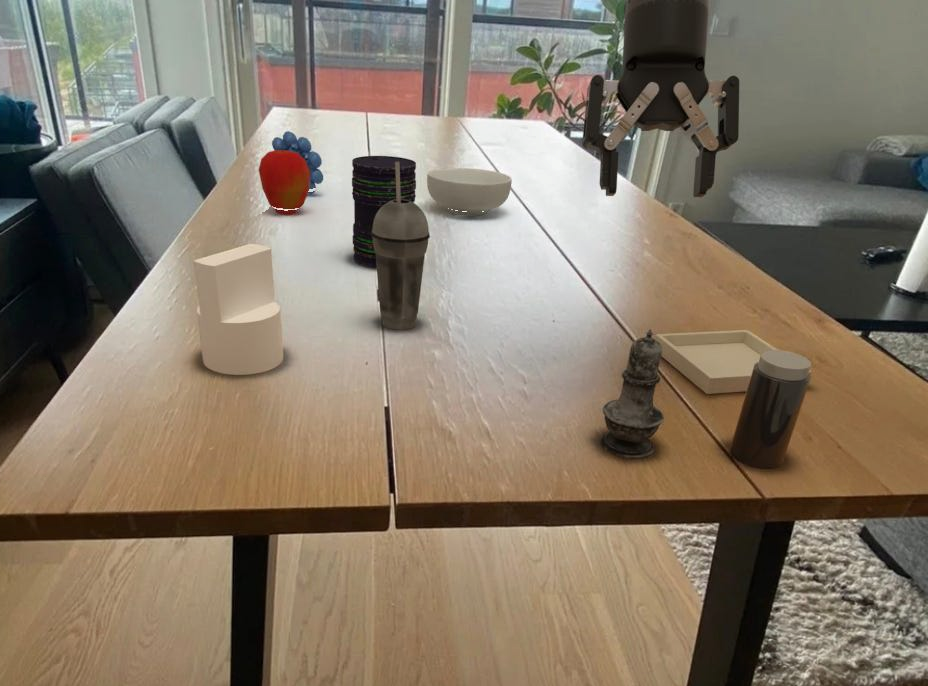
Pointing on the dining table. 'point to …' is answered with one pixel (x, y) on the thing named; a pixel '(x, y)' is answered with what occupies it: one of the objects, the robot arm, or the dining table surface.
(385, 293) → the beverage cup
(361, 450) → the dining table surface
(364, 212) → the storage jar
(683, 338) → the ivory tray
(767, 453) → the black pepper shaker
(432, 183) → the cereal bowl
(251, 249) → the cylinder with rectangular tab
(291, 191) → the apple
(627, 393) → the salt shaker
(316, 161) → the grapes
